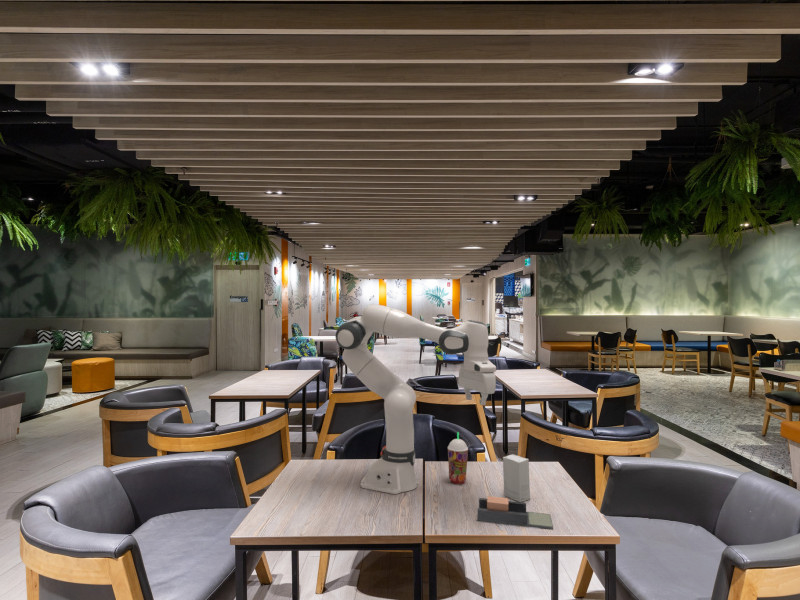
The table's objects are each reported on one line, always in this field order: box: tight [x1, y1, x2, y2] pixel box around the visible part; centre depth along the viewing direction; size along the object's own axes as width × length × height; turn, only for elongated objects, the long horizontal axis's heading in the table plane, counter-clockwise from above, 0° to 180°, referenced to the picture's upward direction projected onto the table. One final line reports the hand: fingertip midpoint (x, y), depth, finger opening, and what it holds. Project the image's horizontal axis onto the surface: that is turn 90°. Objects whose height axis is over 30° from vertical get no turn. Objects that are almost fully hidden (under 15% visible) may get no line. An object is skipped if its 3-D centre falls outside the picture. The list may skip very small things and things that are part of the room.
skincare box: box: [502, 454, 531, 502], centre depth 172 cm, size 8×6×15 cm
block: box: [486, 495, 509, 511], centre depth 155 cm, size 7×5×4 cm
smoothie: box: [447, 431, 469, 485], centre depth 187 cm, size 8×8×20 cm
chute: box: [476, 497, 554, 530], centre depth 154 cm, size 24×10×4 cm, turn 77°
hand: (475, 402), depth 168 cm, fingers open, 8 cm apart
